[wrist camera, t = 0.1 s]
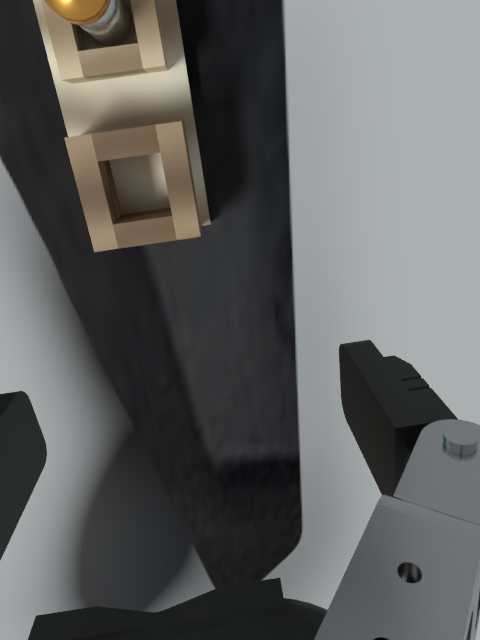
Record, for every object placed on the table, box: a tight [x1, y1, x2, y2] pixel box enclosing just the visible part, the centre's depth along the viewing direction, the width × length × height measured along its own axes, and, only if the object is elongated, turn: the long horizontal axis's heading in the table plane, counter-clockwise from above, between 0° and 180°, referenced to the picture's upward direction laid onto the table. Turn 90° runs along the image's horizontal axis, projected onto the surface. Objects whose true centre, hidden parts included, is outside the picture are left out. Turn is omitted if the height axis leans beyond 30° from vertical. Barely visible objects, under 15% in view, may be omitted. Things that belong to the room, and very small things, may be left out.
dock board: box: [33, 0, 210, 252], centre depth 33 cm, size 18×10×5 cm, turn 7°
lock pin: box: [44, 0, 131, 46], centre depth 27 cm, size 3×3×10 cm
